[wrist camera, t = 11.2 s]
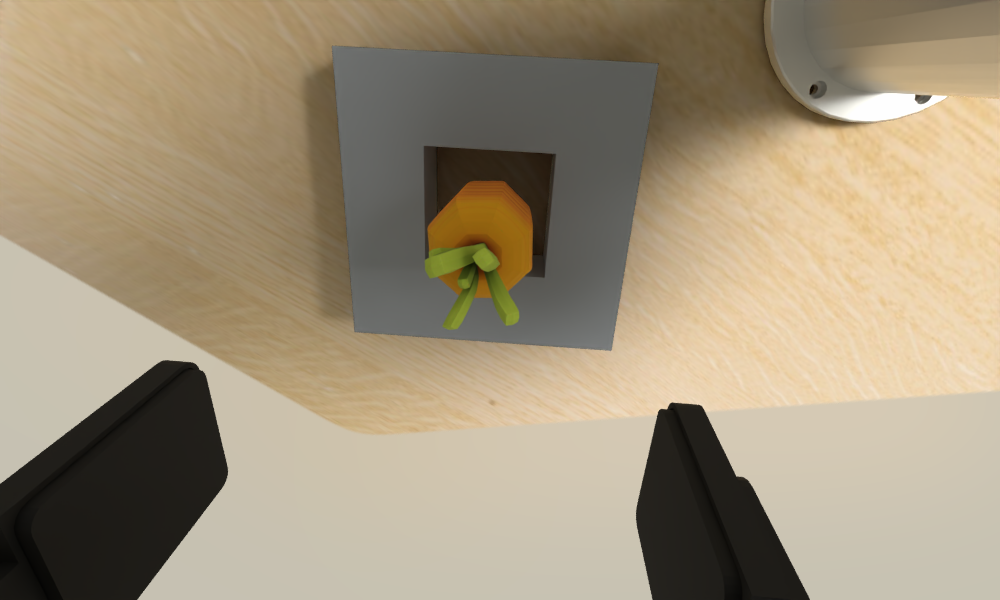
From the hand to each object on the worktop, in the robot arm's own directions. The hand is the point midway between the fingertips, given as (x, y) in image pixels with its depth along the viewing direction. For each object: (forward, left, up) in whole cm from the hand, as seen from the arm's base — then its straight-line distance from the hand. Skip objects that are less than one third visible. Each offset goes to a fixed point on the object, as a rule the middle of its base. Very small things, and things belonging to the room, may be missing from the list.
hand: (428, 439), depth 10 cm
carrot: (0, 0, -23) cm, 23 cm away
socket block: (0, 0, -23) cm, 23 cm away
